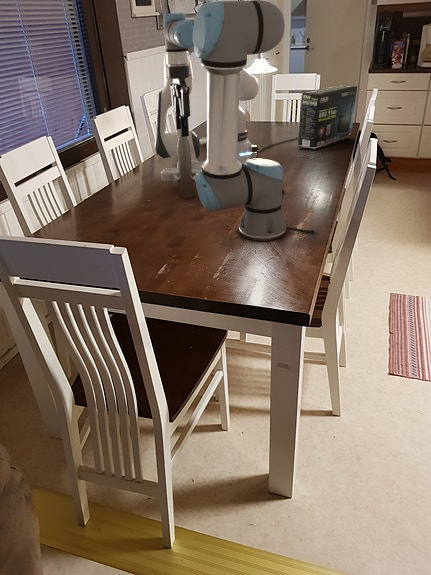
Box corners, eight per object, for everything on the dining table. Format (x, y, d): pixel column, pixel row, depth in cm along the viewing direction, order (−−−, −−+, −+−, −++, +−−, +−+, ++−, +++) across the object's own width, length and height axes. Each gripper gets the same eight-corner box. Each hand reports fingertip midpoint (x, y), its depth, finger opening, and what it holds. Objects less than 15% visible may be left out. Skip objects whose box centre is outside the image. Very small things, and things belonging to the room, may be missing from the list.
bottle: (194, 194, 183) (190, 129, 171) (191, 198, 179) (187, 132, 166) (182, 193, 184) (177, 129, 171) (179, 198, 180) (174, 132, 167)
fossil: (223, 141, 238) (204, 123, 241) (212, 159, 245) (194, 141, 248) (240, 140, 252) (222, 123, 255) (230, 156, 258) (212, 139, 262)
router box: (314, 151, 231) (318, 94, 217) (296, 148, 237) (299, 92, 224) (352, 138, 251) (358, 85, 238) (335, 135, 258) (340, 83, 245)
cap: (175, 134, 171) (175, 129, 170) (187, 132, 172) (187, 128, 171) (178, 136, 167) (177, 131, 166) (190, 135, 168) (189, 130, 167)
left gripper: (161, 163, 188) (158, 173, 176) (211, 161, 188) (211, 171, 176) (162, 178, 191) (160, 189, 179) (211, 176, 191) (212, 187, 179)
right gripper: (197, 66, 152) (201, 138, 164) (179, 62, 166) (184, 129, 178) (176, 68, 149) (181, 141, 161) (159, 64, 163) (165, 131, 175)
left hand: (186, 180), depth 178 cm, fingers closed on bottle, 5 cm apart
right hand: (182, 134), depth 170 cm, fingers closed on cap, 4 cm apart
